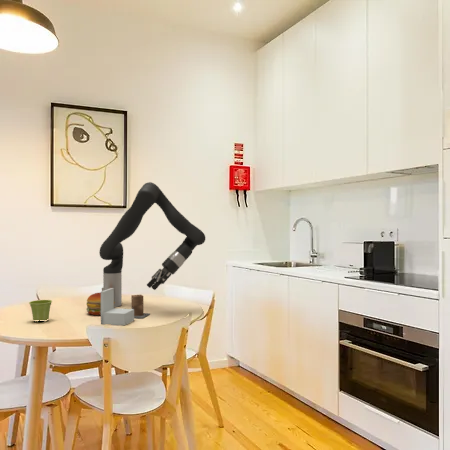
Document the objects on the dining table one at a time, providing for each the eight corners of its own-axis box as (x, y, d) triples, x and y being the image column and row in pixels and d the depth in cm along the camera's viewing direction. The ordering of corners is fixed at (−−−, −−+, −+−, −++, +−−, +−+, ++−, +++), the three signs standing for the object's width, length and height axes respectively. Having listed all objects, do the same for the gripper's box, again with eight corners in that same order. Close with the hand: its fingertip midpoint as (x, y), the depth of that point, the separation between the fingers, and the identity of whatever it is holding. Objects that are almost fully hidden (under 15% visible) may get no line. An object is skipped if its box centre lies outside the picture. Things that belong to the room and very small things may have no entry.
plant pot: (38, 324, 191) (38, 304, 191) (24, 322, 196) (24, 302, 196) (56, 320, 199) (56, 301, 199) (43, 318, 204) (43, 299, 204)
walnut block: (133, 316, 205) (133, 296, 205) (131, 314, 209) (131, 295, 209) (143, 315, 207) (143, 295, 207) (140, 313, 211) (140, 294, 211)
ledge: (100, 324, 192) (100, 291, 192) (111, 319, 202) (111, 288, 201) (124, 325, 190) (124, 292, 189) (134, 320, 199) (134, 288, 199)
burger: (84, 312, 218) (84, 291, 218) (112, 309, 223) (112, 289, 223) (87, 317, 206) (87, 295, 205) (117, 315, 211) (117, 293, 211)
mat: (124, 317, 205) (124, 316, 205) (131, 313, 213) (132, 312, 213) (142, 318, 203) (142, 317, 203) (149, 314, 212) (149, 313, 212)
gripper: (184, 269, 209) (160, 295, 204) (174, 266, 222) (151, 291, 217) (173, 258, 207) (148, 284, 202) (164, 256, 220) (141, 280, 215)
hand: (150, 287), depth 210 cm, fingers open, 8 cm apart
